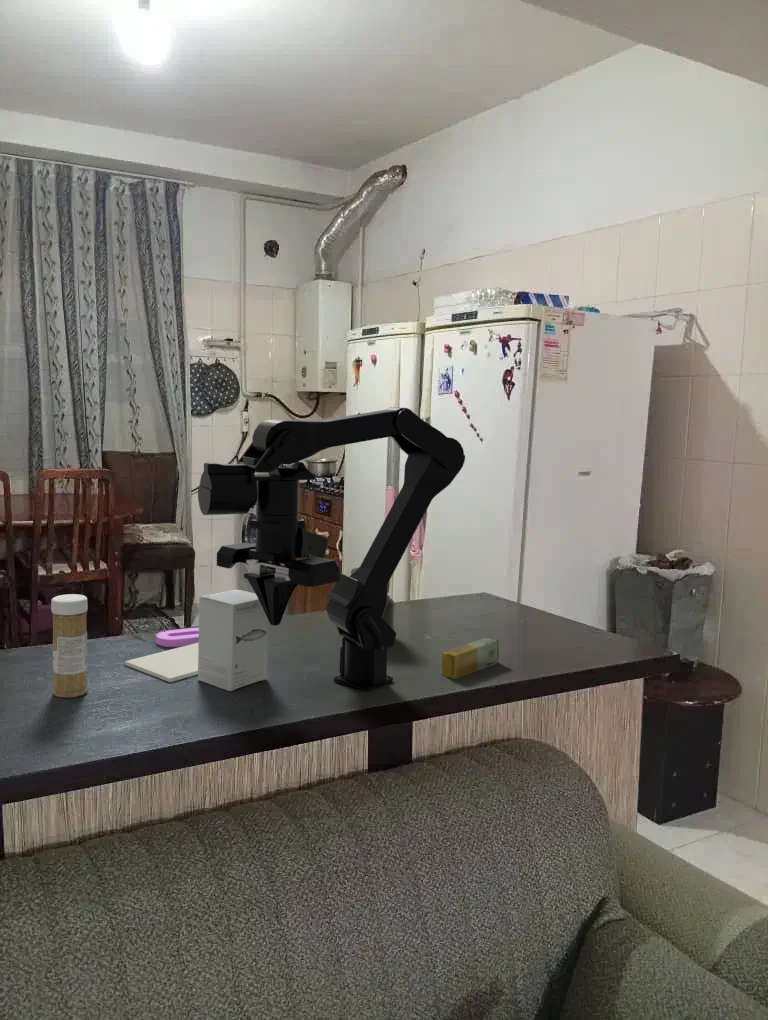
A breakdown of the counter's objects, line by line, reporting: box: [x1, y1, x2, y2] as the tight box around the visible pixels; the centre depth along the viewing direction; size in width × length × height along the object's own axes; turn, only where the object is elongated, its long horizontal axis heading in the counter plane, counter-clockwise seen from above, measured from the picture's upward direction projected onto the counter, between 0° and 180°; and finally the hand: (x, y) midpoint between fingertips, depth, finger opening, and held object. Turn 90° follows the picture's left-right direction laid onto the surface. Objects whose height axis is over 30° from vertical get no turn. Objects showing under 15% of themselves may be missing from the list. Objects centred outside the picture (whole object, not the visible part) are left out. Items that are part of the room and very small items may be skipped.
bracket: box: [155, 626, 199, 648], centre depth 137 cm, size 13×6×7 cm, turn 119°
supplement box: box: [197, 589, 270, 692], centre depth 118 cm, size 7×7×13 cm
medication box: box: [441, 637, 500, 680], centre depth 128 cm, size 12×3×4 cm, turn 139°
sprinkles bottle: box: [50, 593, 89, 699], centre depth 110 cm, size 5×5×13 cm
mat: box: [124, 643, 198, 683], centre depth 125 cm, size 11×14×1 cm
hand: (275, 624), depth 112 cm, fingers closed
